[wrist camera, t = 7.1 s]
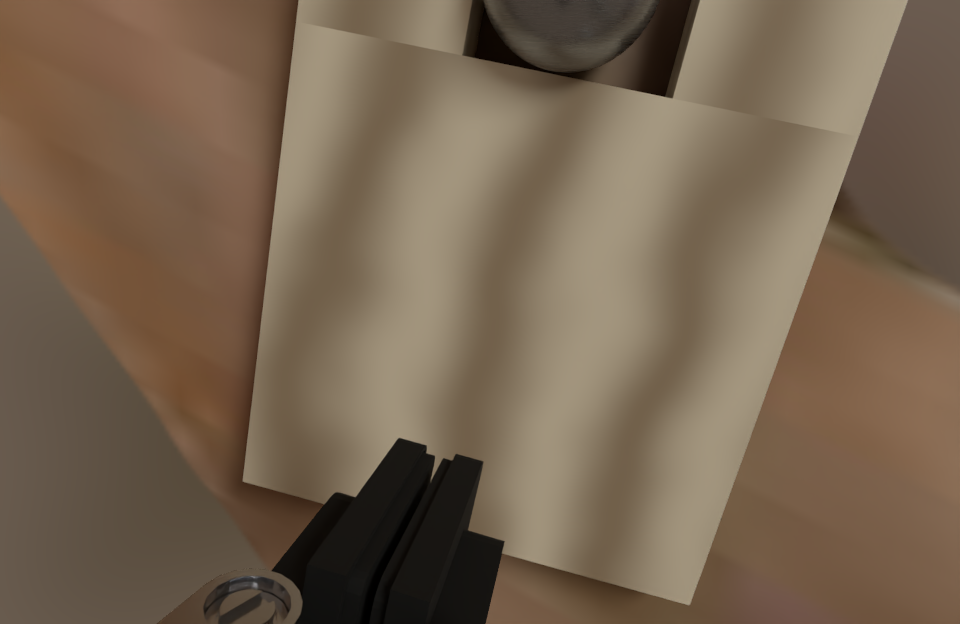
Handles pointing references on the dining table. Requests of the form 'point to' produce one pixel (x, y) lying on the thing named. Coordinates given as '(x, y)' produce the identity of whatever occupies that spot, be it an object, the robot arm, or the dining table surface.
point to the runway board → (550, 267)
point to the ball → (569, 30)
